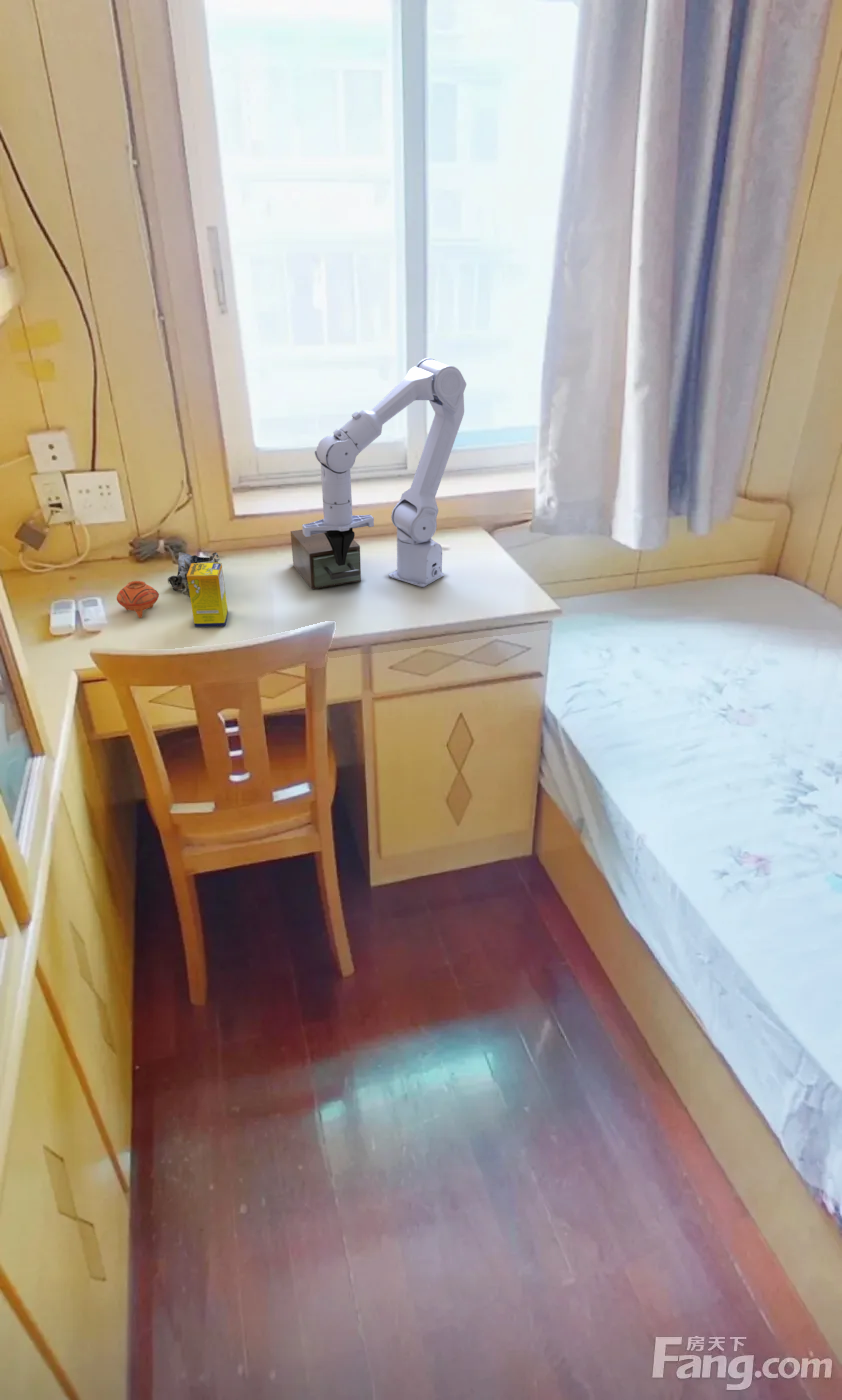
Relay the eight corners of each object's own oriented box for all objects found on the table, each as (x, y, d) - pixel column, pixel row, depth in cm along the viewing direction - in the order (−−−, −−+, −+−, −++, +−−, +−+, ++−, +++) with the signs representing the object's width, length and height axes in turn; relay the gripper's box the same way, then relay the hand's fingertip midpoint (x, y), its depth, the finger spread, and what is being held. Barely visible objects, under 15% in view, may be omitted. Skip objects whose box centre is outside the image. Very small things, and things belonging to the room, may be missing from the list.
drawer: (369, 589, 173) (368, 561, 170) (323, 597, 170) (322, 569, 166) (340, 558, 187) (339, 531, 184) (298, 565, 184) (296, 538, 180)
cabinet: (361, 581, 179) (360, 545, 175) (311, 589, 175) (309, 553, 171) (340, 558, 189) (338, 524, 185) (293, 565, 186) (290, 531, 181)
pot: (110, 619, 162) (107, 584, 160) (130, 610, 169) (127, 577, 167) (149, 621, 161) (146, 586, 159) (167, 612, 168) (164, 579, 166)
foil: (235, 557, 181) (216, 544, 166) (231, 607, 181) (212, 598, 166) (182, 553, 181) (159, 539, 166) (178, 602, 181) (154, 593, 166)
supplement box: (198, 613, 165) (190, 562, 159) (228, 612, 166) (222, 561, 160) (193, 627, 160) (185, 575, 154) (225, 626, 161) (218, 574, 155)
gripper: (308, 511, 158) (312, 576, 166) (378, 501, 163) (380, 565, 171) (297, 499, 164) (302, 563, 171) (366, 490, 169) (368, 552, 176)
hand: (340, 563), depth 171 cm, fingers closed
